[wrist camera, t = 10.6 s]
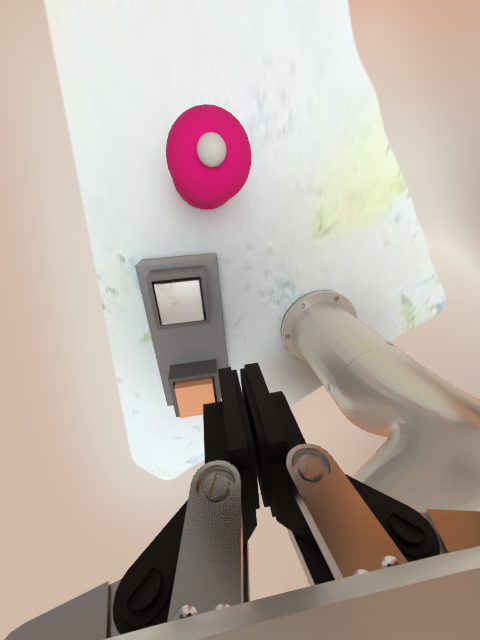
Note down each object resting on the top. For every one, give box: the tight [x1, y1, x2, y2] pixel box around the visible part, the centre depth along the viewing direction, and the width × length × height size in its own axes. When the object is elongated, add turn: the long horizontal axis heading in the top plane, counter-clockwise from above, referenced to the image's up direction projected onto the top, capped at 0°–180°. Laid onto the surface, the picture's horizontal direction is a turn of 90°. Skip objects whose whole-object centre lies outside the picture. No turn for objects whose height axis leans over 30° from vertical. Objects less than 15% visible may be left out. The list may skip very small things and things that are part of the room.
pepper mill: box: [166, 105, 251, 209], centre depth 24 cm, size 7×7×20 cm
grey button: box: [154, 277, 204, 325], centre depth 32 cm, size 5×5×3 cm
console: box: [135, 253, 228, 417], centre depth 38 cm, size 22×10×8 cm, turn 4°
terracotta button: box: [175, 377, 215, 418], centre depth 38 cm, size 5×5×3 cm
